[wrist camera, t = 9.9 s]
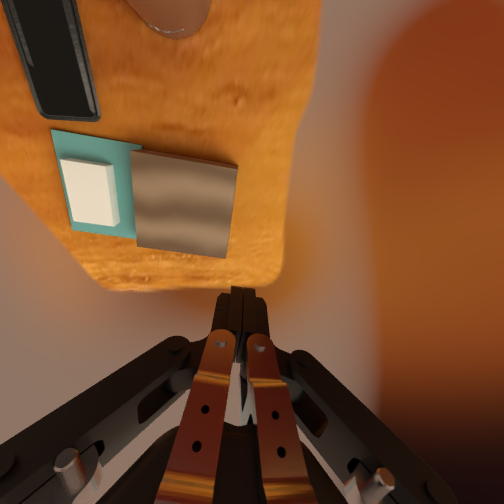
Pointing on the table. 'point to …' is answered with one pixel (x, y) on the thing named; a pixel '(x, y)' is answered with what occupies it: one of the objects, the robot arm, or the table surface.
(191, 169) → the block
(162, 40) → the table surface
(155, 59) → the table surface
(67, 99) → the phone
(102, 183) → the white rectangular block
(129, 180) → the mat
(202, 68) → the table surface
